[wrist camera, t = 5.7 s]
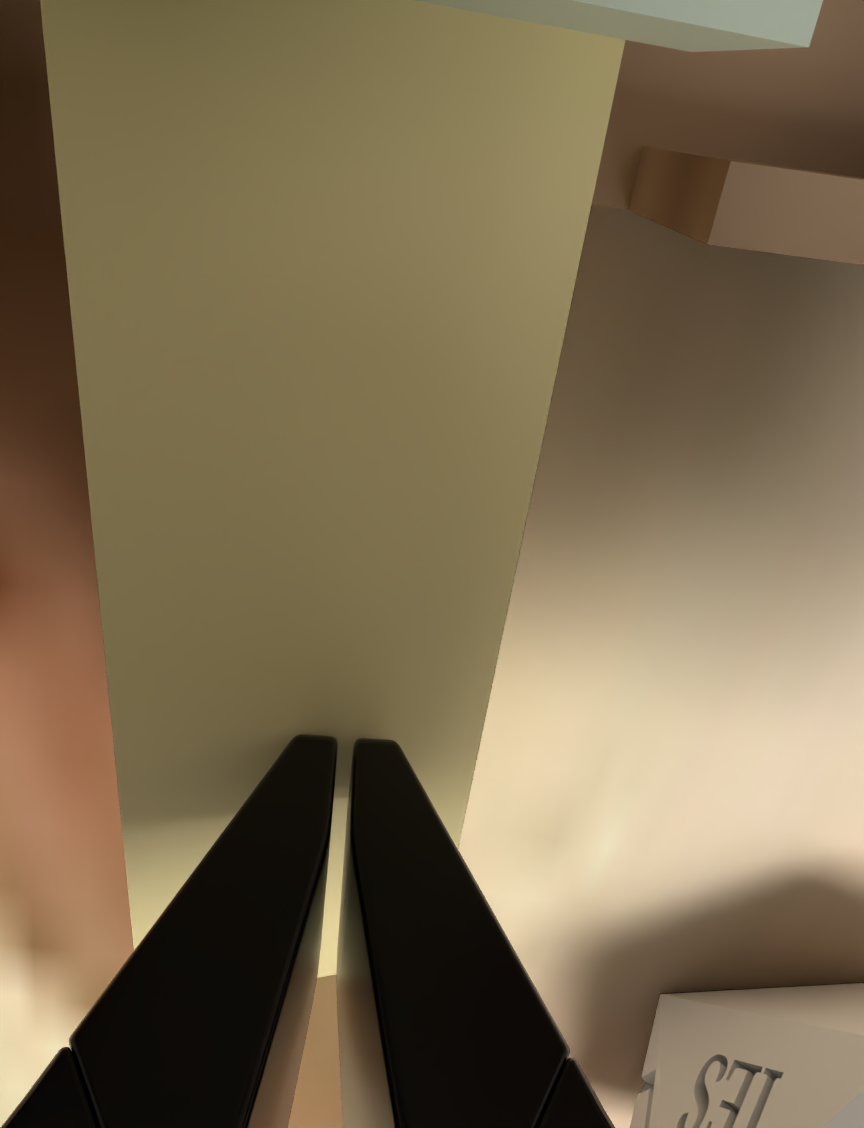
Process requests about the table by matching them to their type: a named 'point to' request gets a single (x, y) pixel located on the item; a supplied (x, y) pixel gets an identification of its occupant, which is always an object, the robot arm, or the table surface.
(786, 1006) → the die
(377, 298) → the lever
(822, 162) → the tray
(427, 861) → the robot arm
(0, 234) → the table surface
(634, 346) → the table surface
